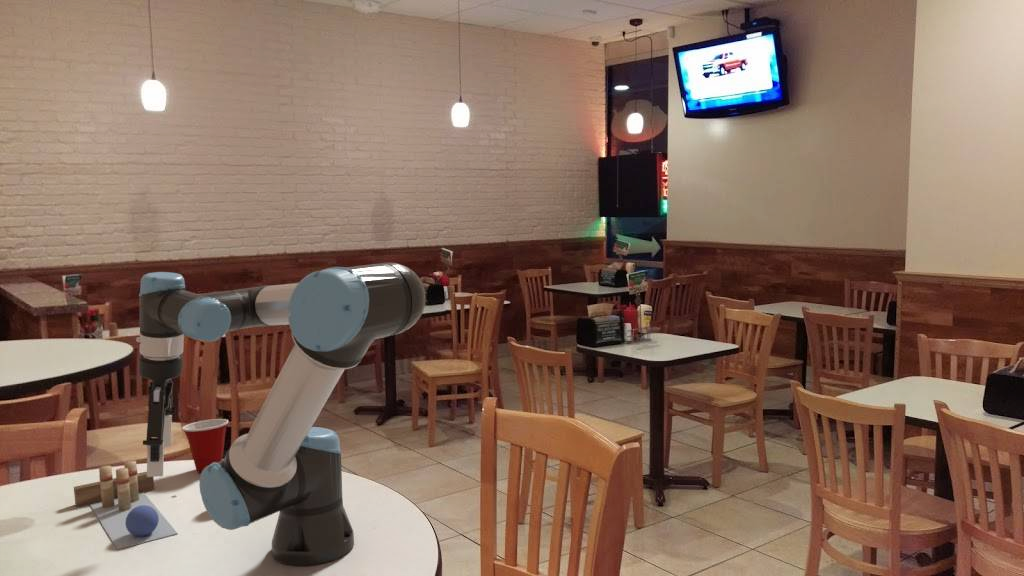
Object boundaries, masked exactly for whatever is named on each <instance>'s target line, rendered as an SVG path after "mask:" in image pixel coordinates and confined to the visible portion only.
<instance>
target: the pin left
mask: <svg viewBox="0 0 1024 576" xmlns="http://www.w3.org/2000/svg"><path fill="white" fill-rule="evenodd" d="M112 469H113V468H112V465H103V466H99V468H98V470H99V475H98V477H99V481H100V486H101V497H102V501H101V502H102V508H110V507H113V506H114V505H115V504H114V499H115V498H114V492H113V480H112V479H114V478H113V470H112Z"/></svg>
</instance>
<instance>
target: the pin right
mask: <svg viewBox="0 0 1024 576" xmlns="http://www.w3.org/2000/svg"><path fill="white" fill-rule="evenodd" d="M123 464H124V465H123V468H128V474H129V486H130V499H131V502H136V501H138V500H139V492H138V479H137V473H138V468H137V460H126V461H124V463H123Z"/></svg>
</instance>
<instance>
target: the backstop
mask: <svg viewBox="0 0 1024 576" xmlns="http://www.w3.org/2000/svg"><path fill="white" fill-rule="evenodd" d="M154 478H155V477H147V471H143V472H142V471H141V472H139V473H138V472H137V479H138V492H139V493H145V492H149V491H154V490H155V482H154ZM112 480H113V492H114V499H117V498H118V493H117V483H116V477H115V478H113V479H112ZM73 493H74V494H73V495H74V504H76V505H75V506H76V507H78V506H79V507H83V506H87V504H88V505H90V504H95V503H99V502H102V497H101V486H100V480H99V481H94V482H90V483H86V484H80V485H76V486H73Z"/></svg>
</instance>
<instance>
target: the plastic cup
mask: <svg viewBox="0 0 1024 576" xmlns="http://www.w3.org/2000/svg"><path fill="white" fill-rule="evenodd" d="M228 424H229V419H226V418H214V419H213V418H212V419H205V420H200V421H199V420H198V421H195V422H191V423H188V424H186V425H184V426H182V428H181V429H182V431H183V432H184V434H185V436H186V439H187V442H188V445H189V448H190V452H191V456H192V459H193V462H194V466H195V470H196V473H198V474H201V473H202V471H203V469H204V468H205V467H207V466H209V465H211V464H212V463H214V462H217V463H218V462H220V461H222V460H223V459H224V458H223V457H224V451H225V450H224V449H225V441H226V431H227V427H228V426H227V425H228Z"/></svg>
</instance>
